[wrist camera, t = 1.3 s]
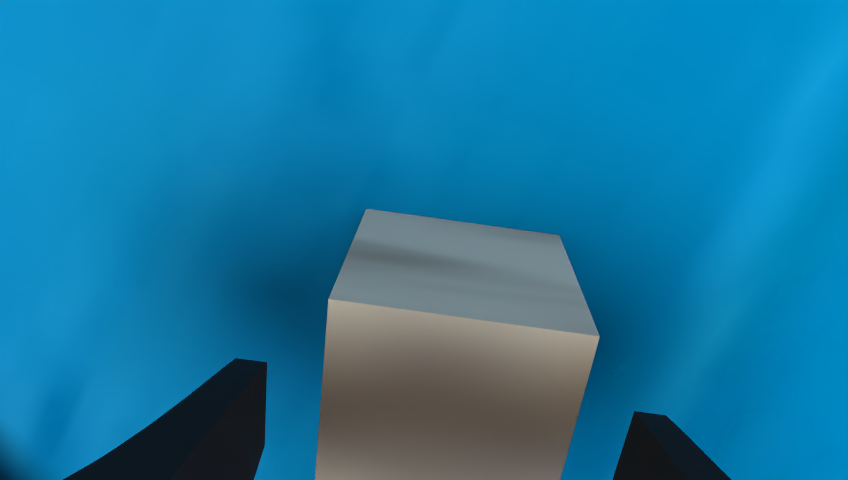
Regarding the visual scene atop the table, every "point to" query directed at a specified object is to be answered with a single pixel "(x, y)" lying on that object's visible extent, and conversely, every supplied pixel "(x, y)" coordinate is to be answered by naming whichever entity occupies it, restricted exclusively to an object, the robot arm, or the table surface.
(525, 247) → the ash cube
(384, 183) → the table surface
